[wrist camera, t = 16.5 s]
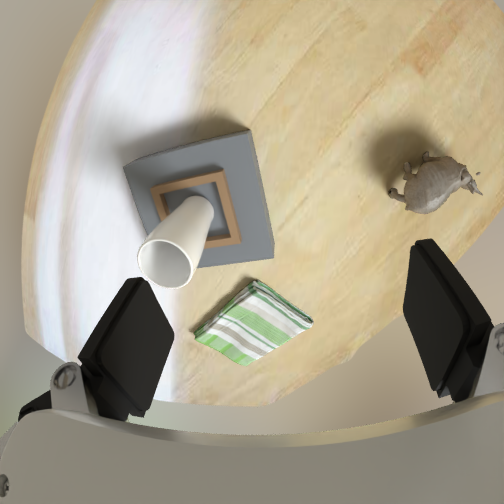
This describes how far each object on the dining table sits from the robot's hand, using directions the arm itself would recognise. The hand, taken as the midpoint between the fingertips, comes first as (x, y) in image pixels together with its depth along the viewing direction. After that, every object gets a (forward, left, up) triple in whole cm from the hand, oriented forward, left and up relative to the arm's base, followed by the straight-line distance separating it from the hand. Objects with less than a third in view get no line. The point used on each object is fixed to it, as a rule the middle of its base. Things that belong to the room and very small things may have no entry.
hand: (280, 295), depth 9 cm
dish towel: (+38, -13, -37) cm, 55 cm away
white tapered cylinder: (+8, -14, -32) cm, 35 cm away
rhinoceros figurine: (+9, +25, -37) cm, 45 cm away
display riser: (+8, -14, -36) cm, 40 cm away
